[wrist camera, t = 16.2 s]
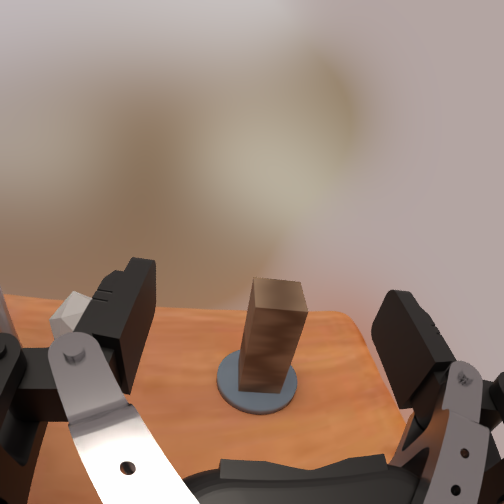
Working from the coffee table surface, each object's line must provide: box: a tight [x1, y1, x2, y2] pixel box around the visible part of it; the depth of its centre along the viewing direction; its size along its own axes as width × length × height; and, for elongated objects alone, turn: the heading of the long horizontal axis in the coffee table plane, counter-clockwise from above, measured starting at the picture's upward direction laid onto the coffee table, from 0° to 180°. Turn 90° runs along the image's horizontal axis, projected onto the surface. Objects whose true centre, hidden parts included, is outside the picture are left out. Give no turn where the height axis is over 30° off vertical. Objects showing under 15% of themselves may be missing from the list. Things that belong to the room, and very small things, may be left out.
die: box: [49, 291, 92, 340], centre depth 35 cm, size 8×9×10 cm
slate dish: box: [217, 350, 297, 415], centre depth 38 cm, size 10×10×1 cm
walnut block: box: [238, 277, 308, 394], centre depth 34 cm, size 5×5×13 cm
